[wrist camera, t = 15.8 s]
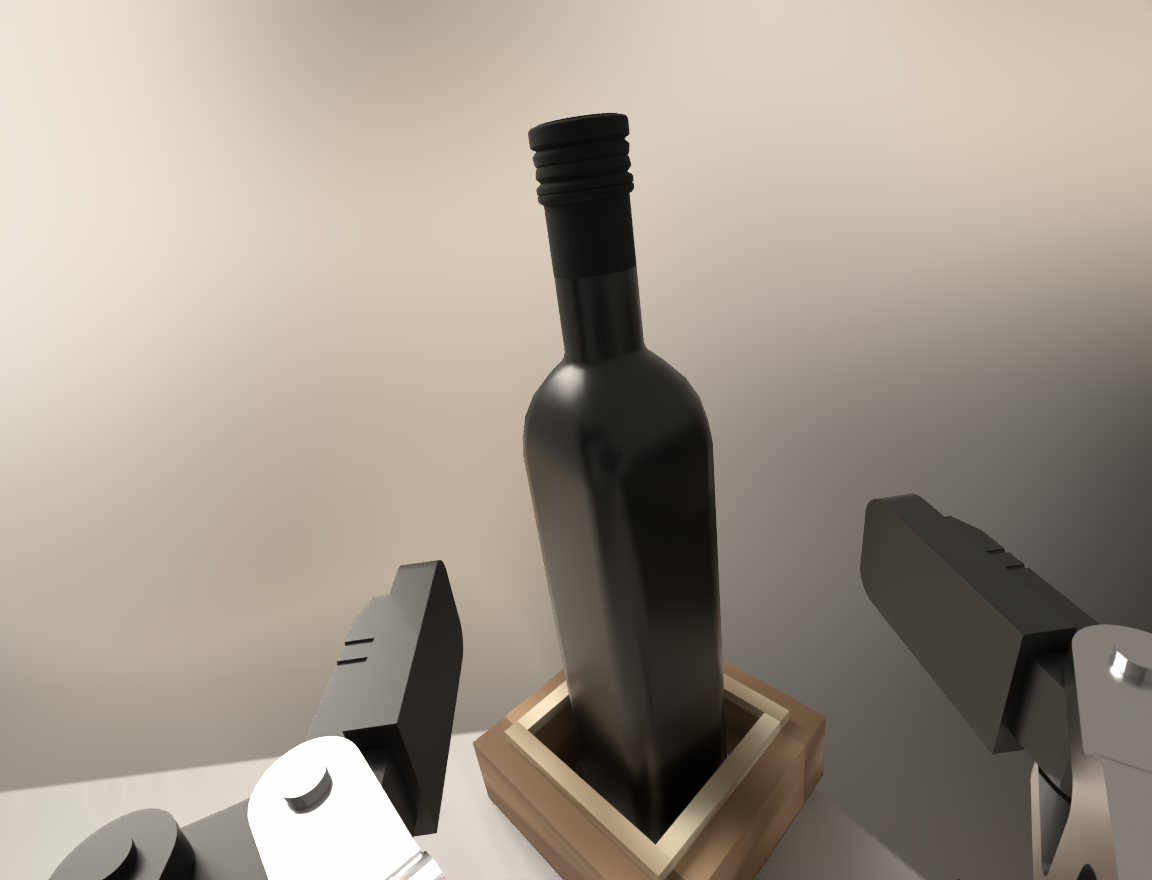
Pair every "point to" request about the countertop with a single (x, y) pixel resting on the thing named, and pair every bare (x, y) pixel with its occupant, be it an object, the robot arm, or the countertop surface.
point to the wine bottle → (623, 500)
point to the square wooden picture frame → (707, 825)
